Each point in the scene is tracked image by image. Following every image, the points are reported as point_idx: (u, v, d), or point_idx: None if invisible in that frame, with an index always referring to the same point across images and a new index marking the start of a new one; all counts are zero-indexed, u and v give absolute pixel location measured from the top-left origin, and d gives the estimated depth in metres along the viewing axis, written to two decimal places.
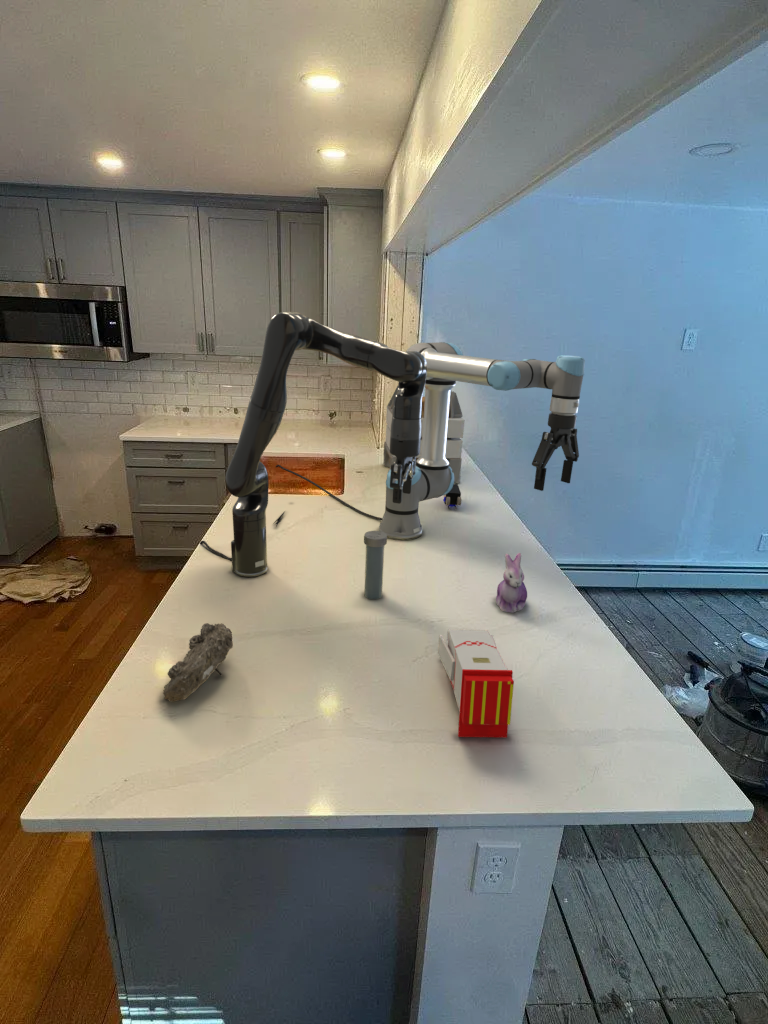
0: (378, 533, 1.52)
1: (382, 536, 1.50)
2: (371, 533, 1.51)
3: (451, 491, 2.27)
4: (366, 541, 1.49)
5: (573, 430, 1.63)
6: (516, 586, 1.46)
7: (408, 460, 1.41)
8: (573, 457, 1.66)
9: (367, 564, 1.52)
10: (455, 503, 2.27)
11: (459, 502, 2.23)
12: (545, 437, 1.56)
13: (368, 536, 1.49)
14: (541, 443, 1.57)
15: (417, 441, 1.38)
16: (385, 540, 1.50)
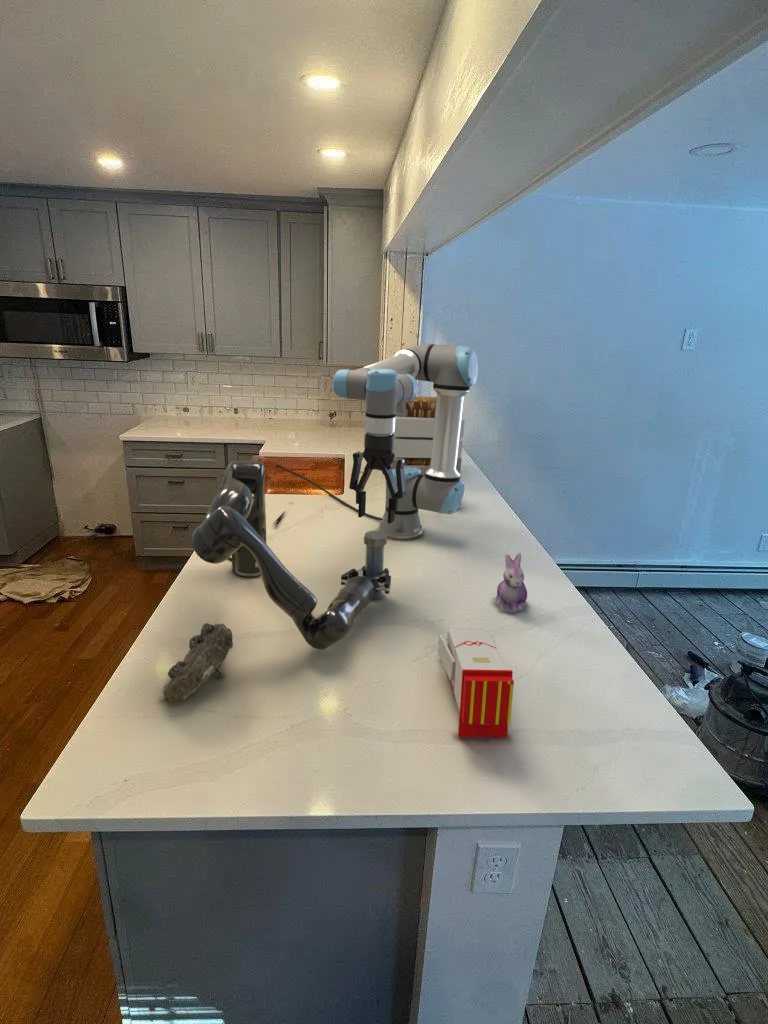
0: (378, 533, 1.52)
1: (382, 536, 1.50)
2: (371, 533, 1.51)
3: None
4: (366, 541, 1.49)
5: None
6: (516, 586, 1.46)
7: None
8: None
9: (367, 564, 1.52)
10: None
11: None
12: (402, 465, 1.41)
13: (368, 536, 1.49)
14: (401, 473, 1.41)
15: None
16: (385, 540, 1.50)
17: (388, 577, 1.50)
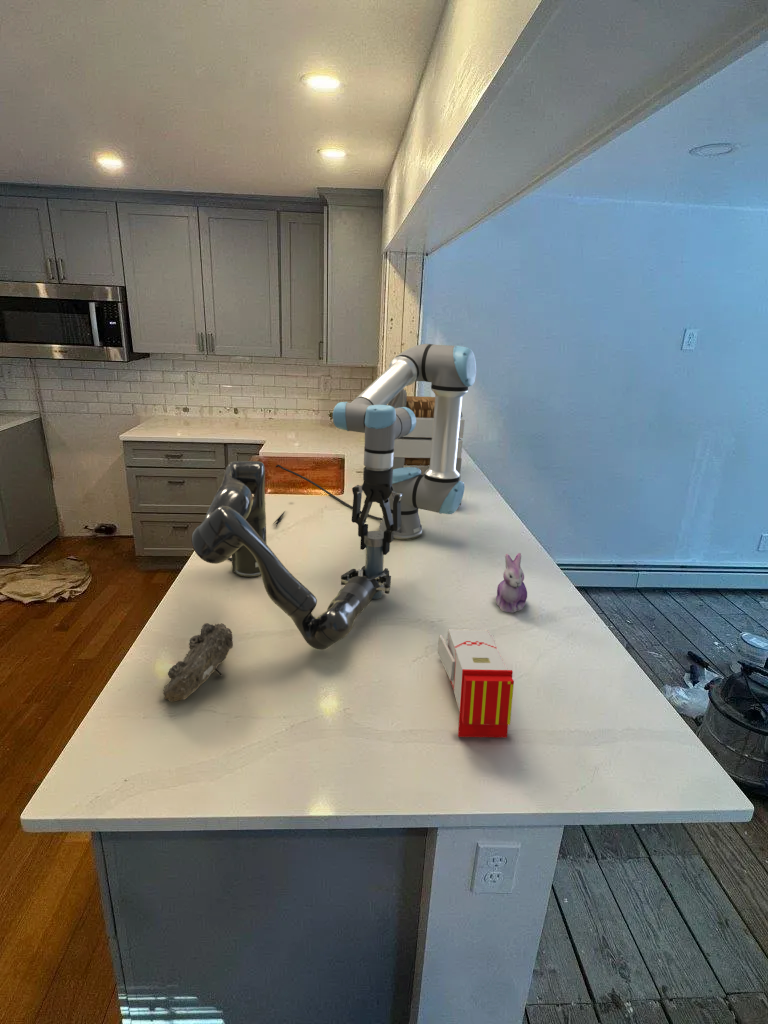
0: (378, 533, 1.52)
1: (382, 536, 1.50)
2: (371, 533, 1.51)
3: None
4: (366, 541, 1.49)
5: None
6: (516, 586, 1.46)
7: None
8: None
9: (367, 564, 1.52)
10: None
11: None
12: (399, 499, 1.44)
13: (368, 536, 1.49)
14: (398, 507, 1.44)
15: None
16: None
17: (388, 577, 1.50)
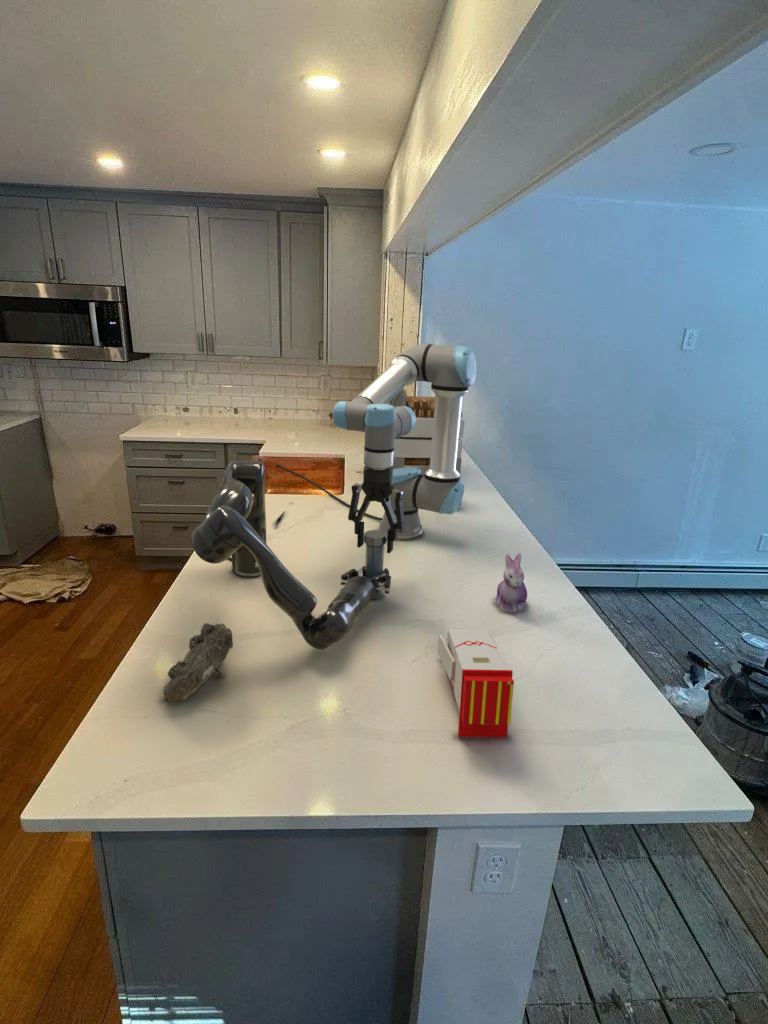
0: (371, 532, 1.51)
1: (379, 531, 1.52)
2: (371, 535, 1.49)
3: None
4: (381, 542, 1.49)
5: None
6: (516, 586, 1.46)
7: None
8: None
9: (367, 564, 1.52)
10: None
11: None
12: (401, 497, 1.44)
13: (379, 536, 1.49)
14: (400, 504, 1.45)
15: None
16: None
17: (388, 577, 1.50)
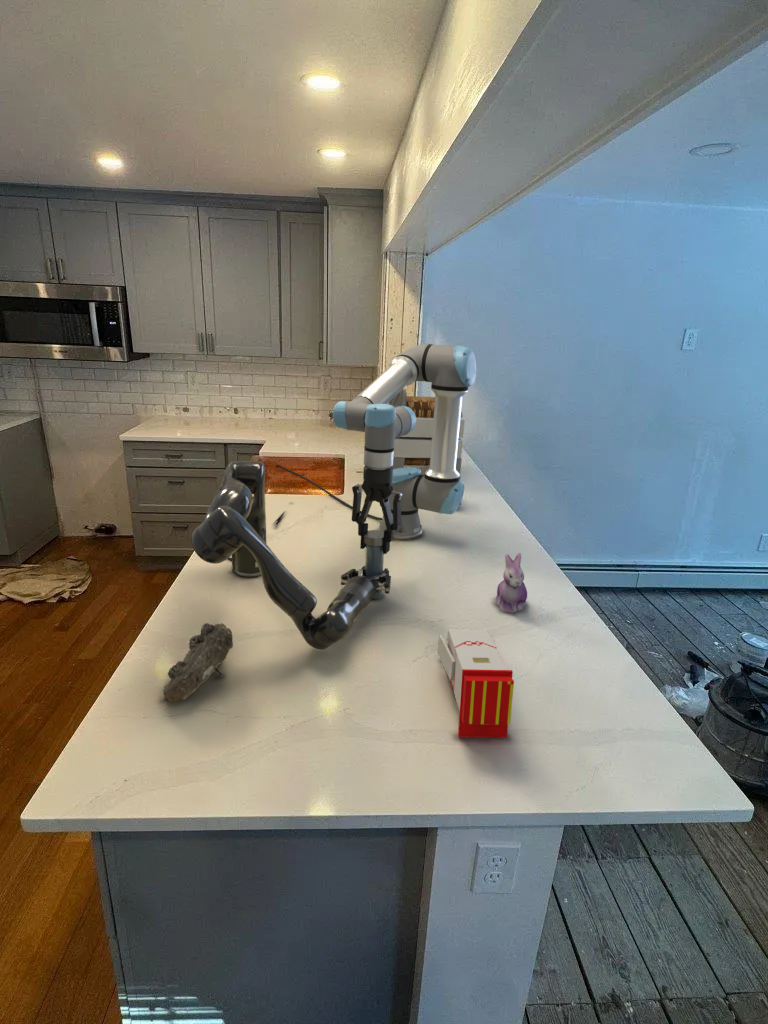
0: (371, 532, 1.51)
1: (379, 531, 1.52)
2: (371, 535, 1.49)
3: None
4: (381, 542, 1.49)
5: None
6: (516, 586, 1.46)
7: None
8: None
9: (367, 564, 1.52)
10: None
11: None
12: (400, 498, 1.44)
13: (379, 536, 1.49)
14: (398, 506, 1.44)
15: None
16: None
17: (388, 577, 1.50)
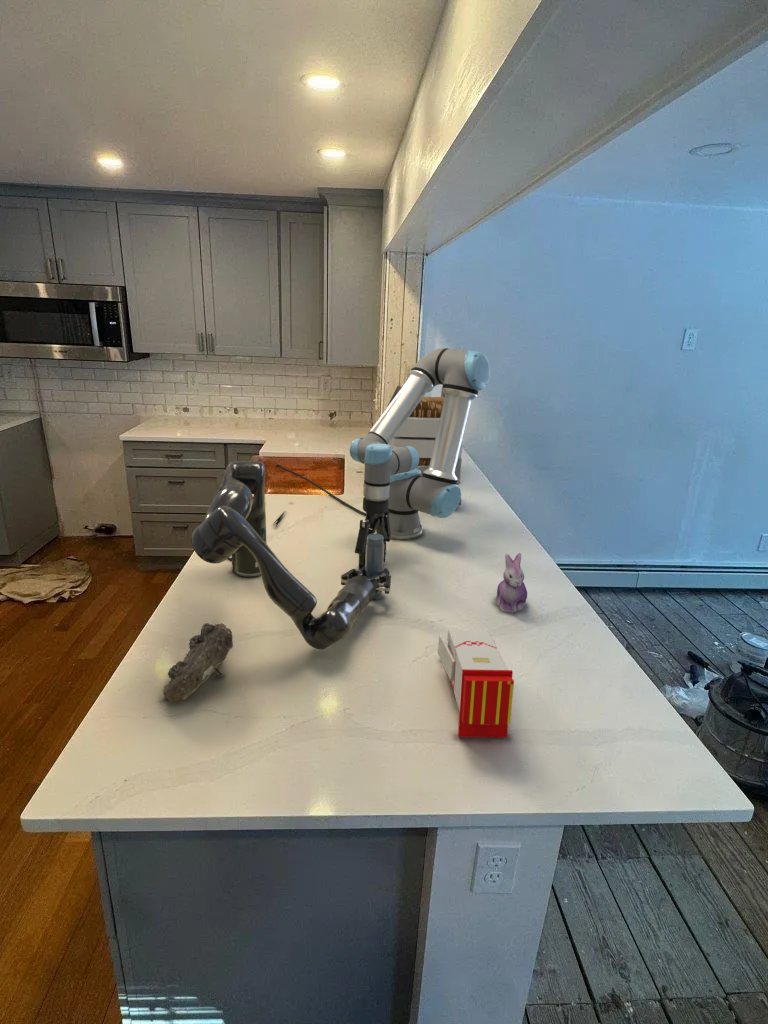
0: None
1: None
2: None
3: None
4: None
5: None
6: (516, 586, 1.46)
7: None
8: None
9: (367, 564, 1.52)
10: None
11: (459, 502, 2.23)
12: None
13: None
14: None
15: None
16: None
17: (388, 577, 1.50)
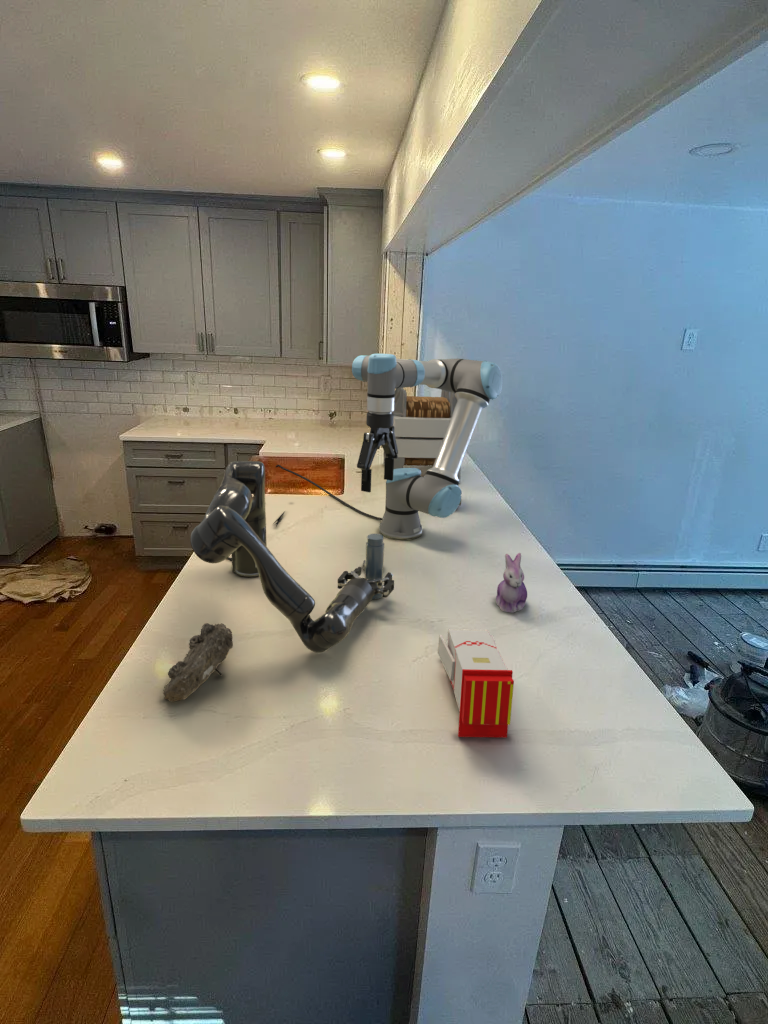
0: None
1: None
2: None
3: None
4: None
5: None
6: (516, 586, 1.46)
7: None
8: None
9: (367, 564, 1.52)
10: None
11: None
12: None
13: None
14: None
15: None
16: None
17: (391, 582, 1.47)
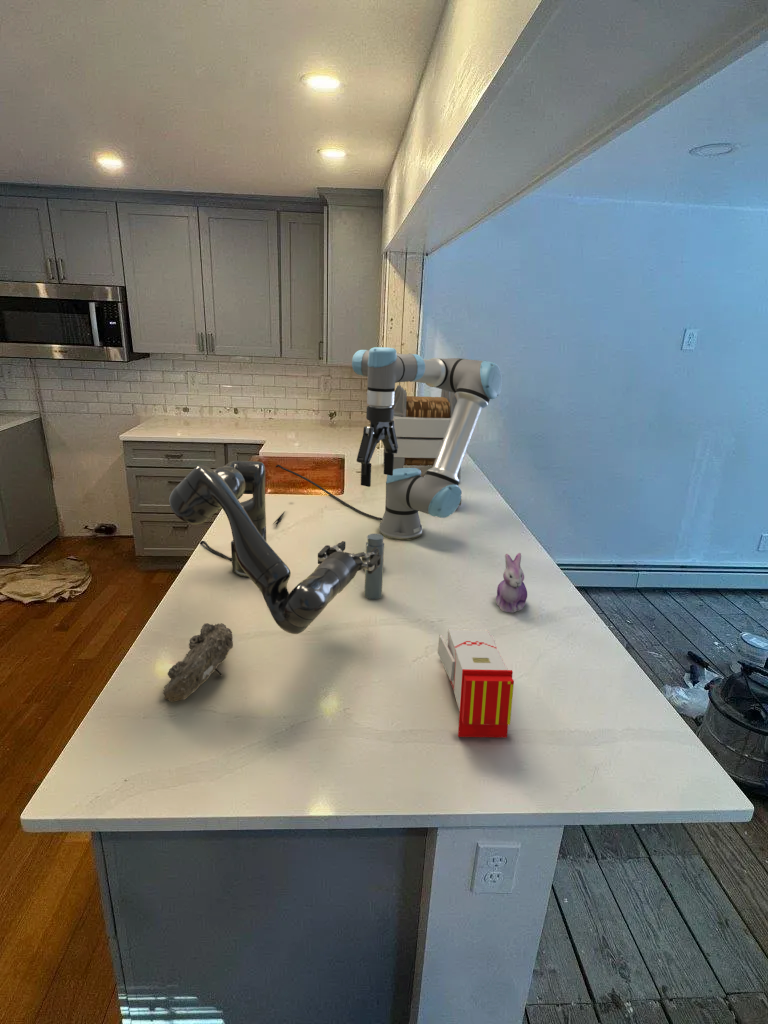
0: None
1: None
2: None
3: None
4: None
5: None
6: (516, 586, 1.46)
7: None
8: None
9: None
10: None
11: None
12: None
13: None
14: None
15: None
16: None
17: (377, 556, 1.32)
